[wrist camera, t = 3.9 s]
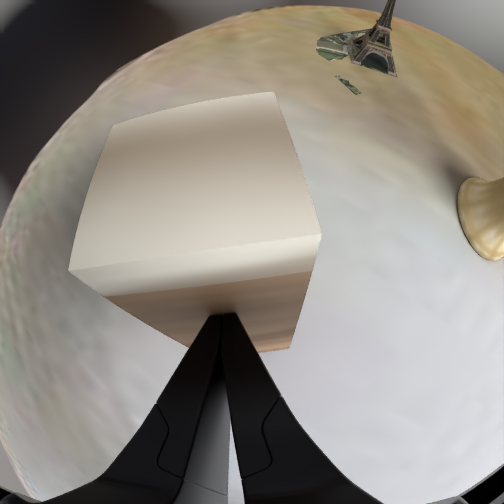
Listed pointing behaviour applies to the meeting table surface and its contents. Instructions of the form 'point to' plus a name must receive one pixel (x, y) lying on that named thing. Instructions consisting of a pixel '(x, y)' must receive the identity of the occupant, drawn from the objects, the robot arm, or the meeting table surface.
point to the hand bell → (483, 215)
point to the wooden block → (201, 220)
